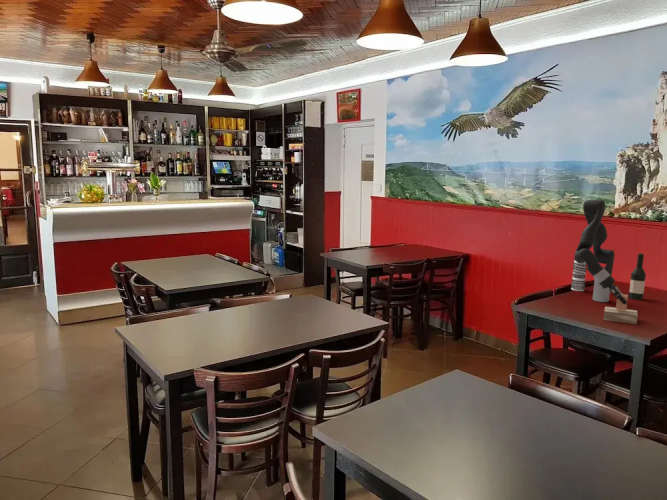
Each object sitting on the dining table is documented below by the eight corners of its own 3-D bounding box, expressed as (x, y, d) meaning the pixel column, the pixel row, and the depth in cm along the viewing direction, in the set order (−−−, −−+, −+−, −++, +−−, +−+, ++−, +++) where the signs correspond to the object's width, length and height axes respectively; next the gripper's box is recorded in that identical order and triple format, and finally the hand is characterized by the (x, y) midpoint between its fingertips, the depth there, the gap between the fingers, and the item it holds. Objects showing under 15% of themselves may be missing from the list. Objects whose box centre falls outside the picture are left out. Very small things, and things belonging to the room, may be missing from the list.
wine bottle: (637, 300, 332) (643, 254, 328) (625, 297, 340) (630, 252, 335) (645, 299, 336) (651, 254, 331) (633, 296, 343) (638, 252, 339)
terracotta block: (616, 307, 290) (617, 293, 289) (626, 308, 288) (627, 294, 286) (615, 309, 286) (617, 295, 284) (626, 310, 283) (627, 296, 282)
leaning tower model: (582, 292, 352) (586, 256, 348) (568, 289, 359) (571, 254, 355) (586, 289, 359) (590, 254, 355) (573, 287, 365) (576, 252, 361)
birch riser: (604, 314, 298) (605, 306, 297) (636, 319, 290) (637, 310, 290) (603, 319, 288) (604, 311, 287) (636, 324, 280) (637, 315, 279)
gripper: (609, 276, 281) (632, 301, 277) (609, 272, 293) (631, 295, 290) (597, 284, 284) (619, 309, 281) (598, 280, 297) (619, 303, 293)
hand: (625, 302), depth 285 cm, fingers closed on terracotta block, 5 cm apart
